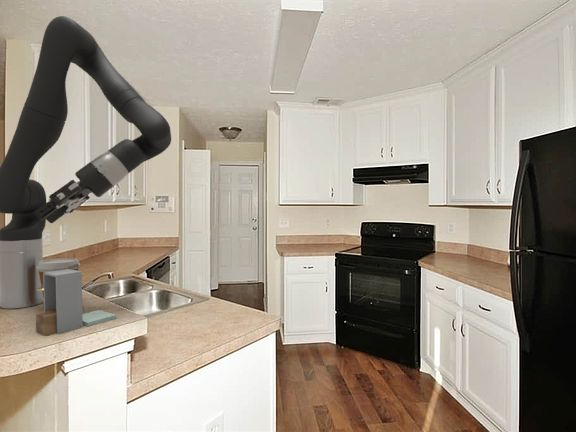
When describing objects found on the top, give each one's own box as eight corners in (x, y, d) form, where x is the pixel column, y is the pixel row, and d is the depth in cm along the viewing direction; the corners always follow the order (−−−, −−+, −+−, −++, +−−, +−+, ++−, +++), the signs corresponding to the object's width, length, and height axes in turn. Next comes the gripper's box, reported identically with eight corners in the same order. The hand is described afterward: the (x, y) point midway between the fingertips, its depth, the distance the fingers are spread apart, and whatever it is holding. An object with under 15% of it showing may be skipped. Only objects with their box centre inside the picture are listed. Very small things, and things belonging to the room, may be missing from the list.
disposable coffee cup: (72, 300, 99) (72, 256, 98) (87, 306, 93) (86, 260, 92) (31, 307, 91) (30, 261, 91) (44, 314, 85) (43, 265, 85)
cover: (44, 328, 76) (43, 272, 75) (69, 322, 80) (68, 269, 80) (57, 333, 73) (56, 275, 72) (82, 326, 77) (81, 271, 77)
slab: (71, 320, 81) (70, 317, 81) (99, 313, 86) (98, 310, 86) (87, 326, 77) (87, 322, 77) (116, 318, 83) (116, 314, 83)
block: (36, 332, 74) (35, 313, 74) (57, 327, 77) (56, 308, 77) (45, 336, 72) (45, 316, 71) (66, 330, 75) (66, 311, 75)
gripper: (95, 168, 92) (38, 210, 86) (86, 153, 79) (19, 201, 73) (116, 190, 93) (62, 233, 88) (111, 179, 80) (47, 228, 75)
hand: (42, 218), depth 80 cm, fingers open, 8 cm apart
